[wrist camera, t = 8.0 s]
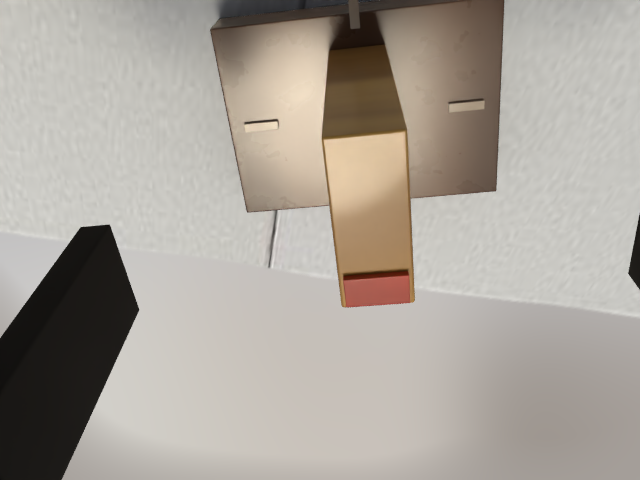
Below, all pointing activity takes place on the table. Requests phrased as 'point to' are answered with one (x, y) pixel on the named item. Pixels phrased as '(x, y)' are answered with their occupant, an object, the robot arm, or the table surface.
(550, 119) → the table surface
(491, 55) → the lock plate
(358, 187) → the thumb turn
